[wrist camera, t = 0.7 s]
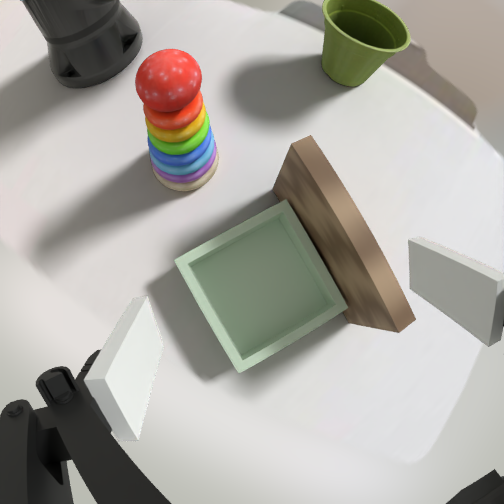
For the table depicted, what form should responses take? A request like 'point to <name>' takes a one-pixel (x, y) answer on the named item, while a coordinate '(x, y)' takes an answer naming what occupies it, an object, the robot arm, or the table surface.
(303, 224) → the backstop wall
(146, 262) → the table surface
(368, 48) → the plant pot
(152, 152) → the stacking toy
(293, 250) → the mint green square tray
